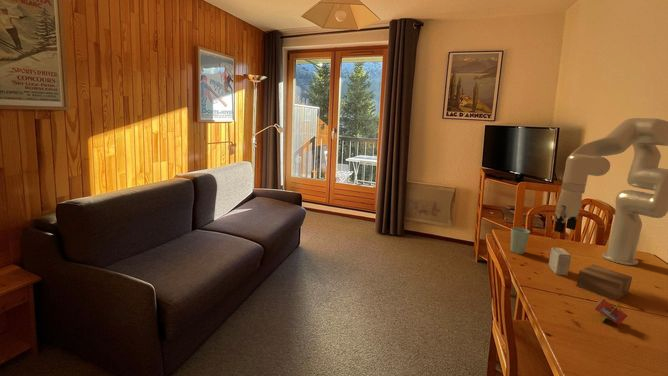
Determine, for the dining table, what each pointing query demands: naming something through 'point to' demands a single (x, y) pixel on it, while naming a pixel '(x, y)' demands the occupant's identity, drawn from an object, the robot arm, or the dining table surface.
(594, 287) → the walnut block
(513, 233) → the cup
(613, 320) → the geometric puzzle
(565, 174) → the robot arm
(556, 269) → the medicine box
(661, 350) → the dining table surface
